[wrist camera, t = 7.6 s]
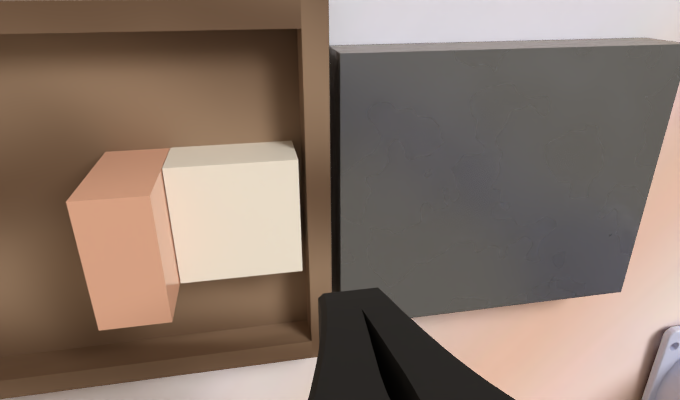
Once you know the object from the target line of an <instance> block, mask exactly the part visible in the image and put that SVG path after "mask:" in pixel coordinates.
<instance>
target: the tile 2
mask: <svg viewBox="0 0 680 400" xmlns="http://www.w3.org/2000/svg"><path fill="white" fill-rule="evenodd" d="M162 171H163V177H164V183H165V190H166V196H167V202H168V208H169V214H170V220H171V227H172V233H173V239H174V245H175V251H176V258H177V264H178V270H179V276H180V282H181V283H190V282H199V281H209V280H219V279H228V278H238V277H248V276H258V275H267V274H277V273H287V272H296V271H303V269H302V244H301V219H300V194H299V169H298V158H297V155H296V152H295V149H294V146H293V143H292V141H277V142H260V143H243V144H225V145H208V146H191V147H173V148H170V151H169V153H168V155H167V158H166V160H165V163H164V165H163V167H162Z"/></svg>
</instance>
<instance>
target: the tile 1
mask: <svg viewBox="0 0 680 400" xmlns="http://www.w3.org/2000/svg"><path fill="white" fill-rule="evenodd" d="M169 151H170V148H163V149H145V150H128V151H111V152H105V153H104V154H103V155H102V157H101V158H100V159H99V161H98V162H97V163H96V164H95V166H94V167H93V168H92V169H91V171H90V172H89V173H88V174H87V176H86V177H85V178H84V180H83V181H82V182H81V183H80V185H79V186H78V187H77V188H76V190H75V191H74V192H73V193H72V195H71V196H70V197H69V199H68V200H67V201H66V204H67V208H68V212H69V216H70V220H71V224H72V228H73V232H74V236H75V240H76V244H77V248H78V251H79V255H80V259H81V263H82V267H83V271H84V275H85V279H86V283H87V287H88V291H89V295H90V298H91V302H92V306H93V310H94V314H95V318H96V322H97V326H98V330H99V331H100V330H109V329H118V328H126V327H135V326H144V325H152V324H161V323H170V322H172V321H173V316H174V311H175V306H176V301H177V296H178V291H179V286H180V276H179V270H178V264H177V258H176V251H175V245H174V239H173V233H172V227H171V220H170V214H169V208H168V202H167V196H166V190H165V183H164V177H163V171H162V167H163V165H164V163H165V160H166V158H167V155H168V153H169Z"/></svg>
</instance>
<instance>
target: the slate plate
mask: <svg viewBox="0 0 680 400" xmlns="http://www.w3.org/2000/svg"><path fill="white" fill-rule="evenodd" d="M679 82H680V42H673V41H666V40H659V39H651V38H615V39H575V40H534V41H494V42H453V43H413V44H372V45H332V46H329V89H330V181H331V272H332V292H341V291H350V290H359V289H368V288H377V287H378V288H379V289H380V290H381V291H383V292H384V293H385V294H386V295H387V296H388V297H389V298H390V299H391V300H392V301H393V302H394V303H395V304H396V305H397V306H398V307H399V308H400V309H401V310H402V311H403V312H404V313H405V314H407V315H408V316H409V317H410V318H413V317H421V316H429V315H437V314H446V313H454V312H462V311H470V310H478V309H486V308H494V307H502V306H510V305H518V304H527V303H535V302H543V301H551V300H559V299H567V298H575V297H583V296H591V295H599V294H607V293H616V292H621V290H622V286H623V282H624V279H625V275H626V272H627V268H628V265H629V261H630V257H631V254H632V250H633V247H634V243H635V239H636V236H637V232H638V229H639V225H640V222H641V218H642V214H643V211H644V207H645V204H646V200H647V197H648V193H649V189H650V186H651V182H652V179H653V175H654V171H655V168H656V164H657V161H658V157H659V154H660V150H661V146H662V143H663V139H664V136H665V132H666V129H667V125H668V121H669V118H670V114H671V111H672V107H673V103H674V100H675V96H676V93H677V89H678V86H679Z"/></svg>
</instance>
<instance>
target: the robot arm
mask: <svg viewBox="0 0 680 400" xmlns="http://www.w3.org/2000/svg"><path fill="white" fill-rule="evenodd" d="M318 317H319V351H318V358H317V364H316V368H315V373H314V377H313V382H312V386H311V390H310V395H309V398H308V400H515V399H513V398H512V397H510V396H509V395H507V394H506V393H504V392H503V391H501V390H500V389H498V388H497V387H495V386H494V385H492V384H491V383H489V382H488V381H486V380H485V379H484V378H482V377H481V376H479V375H478V374H477V373H475V372H474V371H473V370H471V369H470V368H469V367H467V366H466V365H465V364H463V363H462V362H461V361H460V360H458V359H457V358H456V357H454V356H453V355H452V354H451V353H449V352H448V351H447V350H446V349H445V348H443V347H442V346H441V345H440V344H439V343H438V342H437V341H435V340H434V339H433V338H432V337H431V336H430V335H428V334H427V333H426V332H425V331H424V330H423V329H422V328H421V327H419V326H418V325H417V324H416V323H415V322H414V321H413V320H412V319H411V318H410V317H409V316H408V315H407V314H405V313H404V312H403V311H402V310H401V309H400V308H399V307H398V306H397V305H396V304H395V303H394V302H393V301H392V300H391V299H390V298H389V297H388V296H387V295H386V294H385V293H384V292H383V291H381V290H380V289H379V288H378V287H377V288H368V289H359V290H350V291H341V292H332V293H323V294H322V295H321V296H320V297H319V298H318ZM641 400H680V326H673V327H670V328H669V329H667V330H666V331H665V332H664V334H663V337H662V340H661V343H660V346H659V349H658V352H657V355H656V358H655V361H654V364H653V367H652V370H651V373H650V376H649V379H648V381H647V384H646V387H645V390H644V393H643V396H642V399H641Z"/></svg>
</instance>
